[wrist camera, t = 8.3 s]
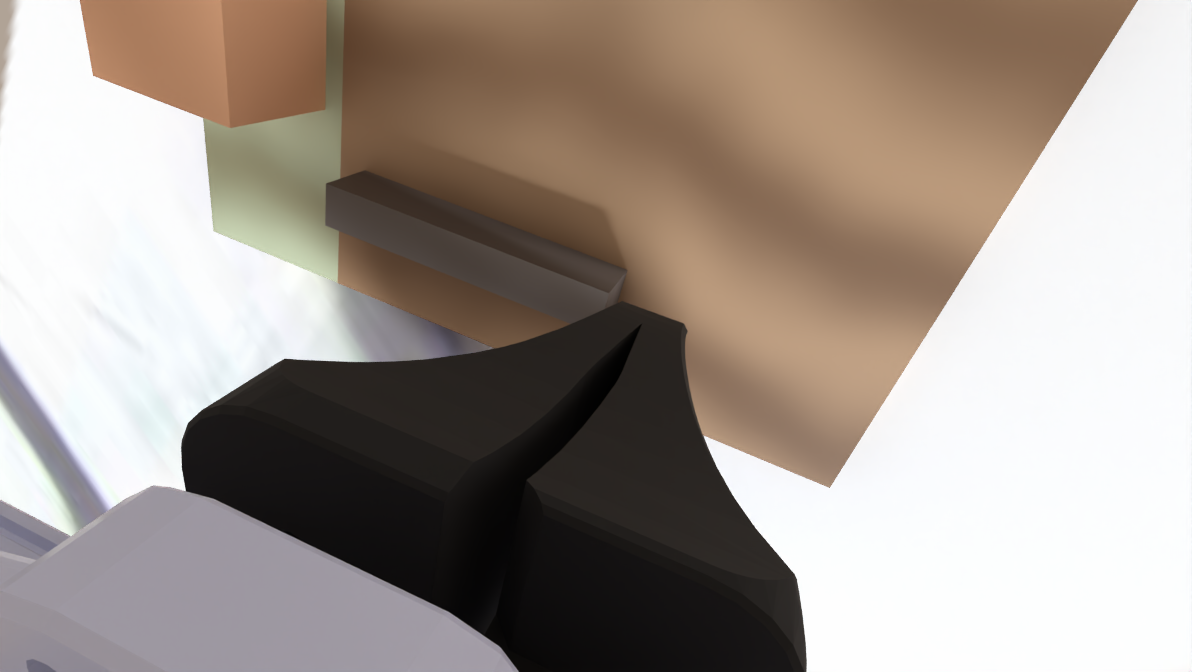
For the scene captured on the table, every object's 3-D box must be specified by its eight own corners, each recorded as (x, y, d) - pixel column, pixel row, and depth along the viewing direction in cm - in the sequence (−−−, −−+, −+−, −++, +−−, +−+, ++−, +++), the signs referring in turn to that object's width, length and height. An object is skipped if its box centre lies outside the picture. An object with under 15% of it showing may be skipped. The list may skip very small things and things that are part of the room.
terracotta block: (325, 109, 21) (230, 127, 18) (206, 65, 22) (93, 75, 19) (327, -59, 19) (216, -74, 15) (191, -102, 19) (57, -126, 16)
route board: (829, 469, 22) (829, 528, 20) (233, 224, 26) (170, 246, 24) (1208, -143, 13) (1300, -181, 10) (189, -377, 17) (77, -445, 14)
